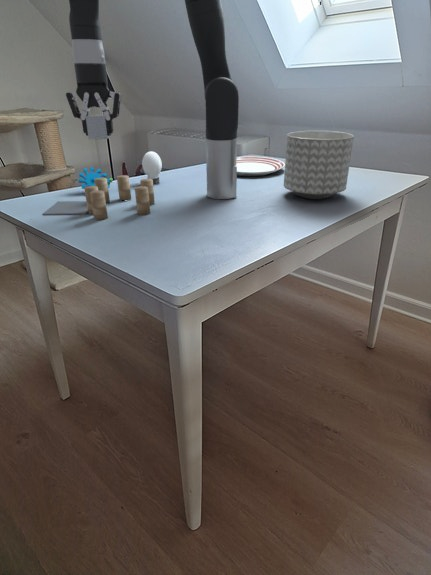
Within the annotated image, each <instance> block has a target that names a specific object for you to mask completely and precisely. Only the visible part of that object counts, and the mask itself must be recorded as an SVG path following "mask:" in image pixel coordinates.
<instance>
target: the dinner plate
mask: <svg viewBox="0 0 431 575" xmlns="http://www.w3.org/2000/svg"><path fill="white" fill-rule="evenodd" d="M236 166H237V176H245V177H248V176H249V177H254V176H255V177H257V176H266V175H269V174H272V173H275V172H277V171H280V170H282V169H284V168H285V161H282V160H280V159H278V158H277V159H276V158H272V157H266V156H236Z"/></svg>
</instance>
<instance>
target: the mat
mask: <svg viewBox="0 0 431 575" xmlns="http://www.w3.org/2000/svg"><path fill="white" fill-rule="evenodd" d="M87 214H89V213H88V207H87V201H86V200H82V201H81V200H76V201H75V200H74V201H73V200H71V201H70V200H65V201H64V200H62V201H61V200H60V201H57V202H55V203H54V204H53V205H51V206H50V207H48V209H46V210H45V211H44V212H42V215H43V216H51V215H52V216H63V215H64V216H71V215H73V216H76V215H78V216H79V215H80V216H81V215H85V216H86V215H87Z"/></svg>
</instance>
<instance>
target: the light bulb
mask: <svg viewBox="0 0 431 575" xmlns="http://www.w3.org/2000/svg"><path fill="white" fill-rule="evenodd" d="M162 163H163V162H162V159H161V157H160V155H159V154H158V153H157V152H155V151H150V150H149V151H148V152H146V153H145V154H144V155H143V157H142V161H141V164H142V165H141V166H142V169H143V170H142V171H143V172H144V173H145V174H146V175H147V178H146V179H152V180H153V186H155V185H159V184H160V177H159V174H161V171H162V167H163V165H162Z"/></svg>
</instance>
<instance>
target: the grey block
mask: <svg viewBox="0 0 431 575" xmlns="http://www.w3.org/2000/svg"><path fill="white" fill-rule="evenodd" d="M86 123H87V130H88V140H89V139H90V140H108V139H109V138H111V136H108V135H107V127H106V118H105V116H104V114H89V115H88V116H86Z"/></svg>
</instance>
